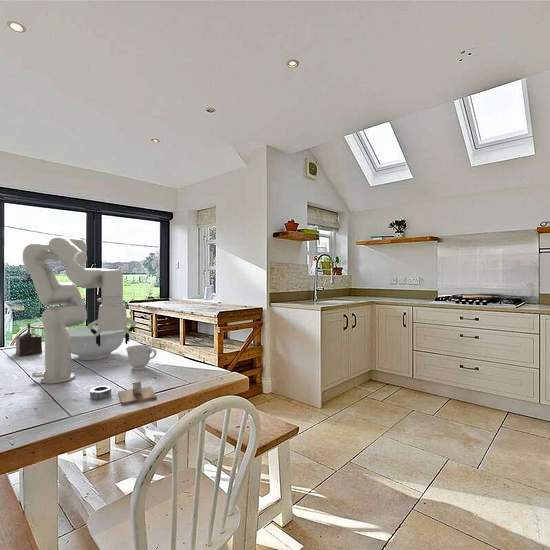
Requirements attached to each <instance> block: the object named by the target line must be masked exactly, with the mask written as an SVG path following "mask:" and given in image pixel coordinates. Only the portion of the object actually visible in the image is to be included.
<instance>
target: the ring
mask: <svg viewBox="0 0 550 550" xmlns="http://www.w3.org/2000/svg"><path fill="white" fill-rule="evenodd" d="M110 396H111V397H112V387H111V386H110V385H99V386H94V387H92V388H90V390H89V400H91V401H104V400H107V399H109V398H110ZM106 398H107V399H106ZM103 399H104V400H103Z"/></svg>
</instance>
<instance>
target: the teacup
mask: <svg viewBox="0 0 550 550" xmlns="http://www.w3.org/2000/svg"><path fill="white" fill-rule="evenodd" d="M125 351H126V353H127V360H128V364H129V366H130V367H132V370H134V371H141V370H145V369H146V368H147V367H146V366H147V365H148V364H149V363H150V361H151V360H152V359H155V357H156V356H157V350H156V349H155V348H154V347H153V346H152V345H148V344H136V345H135V344H134V345H132V346H127V347H126V348H125ZM152 353H154V354H153V355H152V356H151V354H152Z"/></svg>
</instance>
